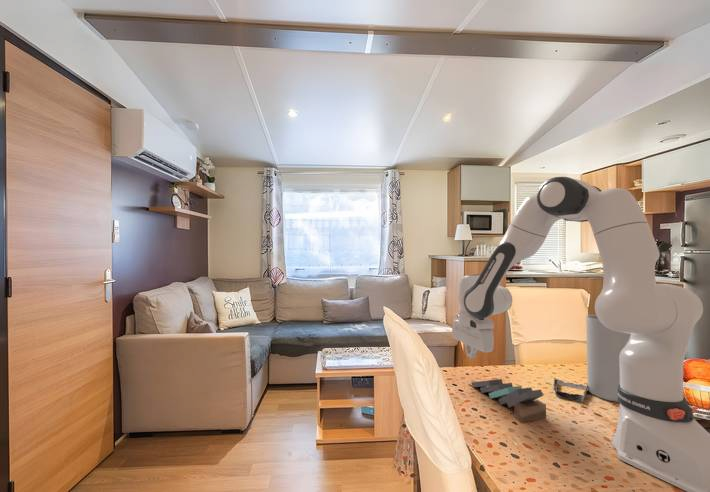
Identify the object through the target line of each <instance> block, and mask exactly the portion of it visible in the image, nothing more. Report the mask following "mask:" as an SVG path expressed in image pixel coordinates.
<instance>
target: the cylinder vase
mask: <svg viewBox="0 0 710 492" xmlns="http://www.w3.org/2000/svg"><path fill="white" fill-rule="evenodd" d="M585 316H586V317H585V320H586V323H585V324H586V367H587V368H586V371H587V373H586V374H587V377H586V378H587V383H588V388H587V391H588V392H589V393H590V394H592V395H593V396H594V397H597V398H600V399H603V400H606V401H610V402H615V403H619V402H618V385H619V384H620V368H619V355H620V352H621V350H622V349H623V348H624V347H625V346H626V344H627V342H628V341H629V338H630V336H631V334H628V333H622V332H617V331H613V330H610V329H608V328H607V327H605V326H604V325H603V324H602V323H601V322H600V321H599V319H598V317H597V315H596V314H588V315H585Z"/></svg>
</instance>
